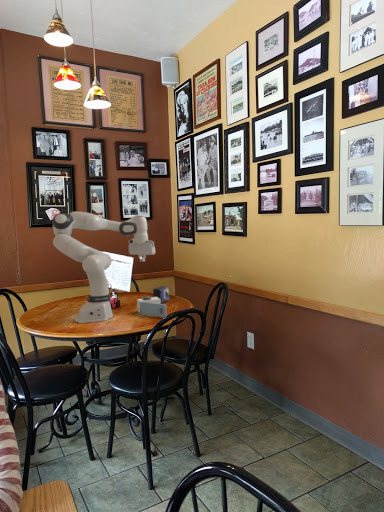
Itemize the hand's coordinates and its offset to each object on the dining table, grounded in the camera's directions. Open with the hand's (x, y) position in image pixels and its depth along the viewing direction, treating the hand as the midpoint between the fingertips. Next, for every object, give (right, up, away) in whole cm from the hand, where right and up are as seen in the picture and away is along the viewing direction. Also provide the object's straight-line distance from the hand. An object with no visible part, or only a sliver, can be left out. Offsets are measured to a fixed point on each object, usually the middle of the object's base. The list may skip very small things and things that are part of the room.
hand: (142, 261), depth 233 cm
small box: (+11, -29, +18) cm, 36 cm away
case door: (+9, -32, -20) cm, 39 cm away
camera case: (+5, -32, -7) cm, 33 cm away
